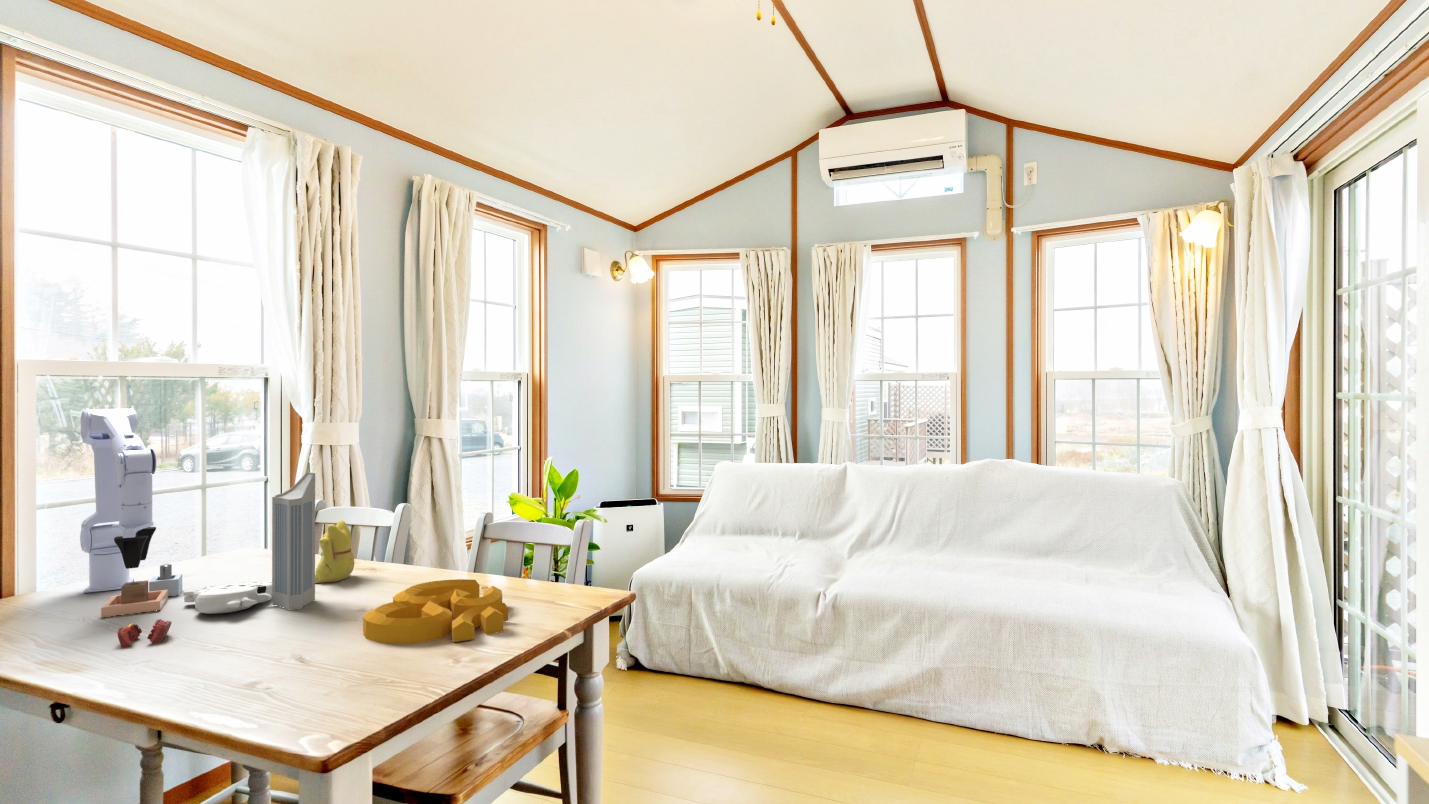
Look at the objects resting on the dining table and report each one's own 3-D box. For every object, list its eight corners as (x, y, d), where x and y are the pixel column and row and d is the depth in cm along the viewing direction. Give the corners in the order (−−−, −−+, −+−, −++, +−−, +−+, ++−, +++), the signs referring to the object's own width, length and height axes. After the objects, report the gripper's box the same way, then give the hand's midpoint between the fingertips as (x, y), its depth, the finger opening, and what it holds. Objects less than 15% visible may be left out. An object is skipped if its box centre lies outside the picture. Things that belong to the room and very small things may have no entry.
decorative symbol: (425, 576, 167) (541, 584, 162) (425, 597, 167) (541, 606, 162) (337, 614, 138) (474, 626, 133) (336, 640, 138) (474, 653, 133)
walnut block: (125, 604, 156) (125, 582, 156) (148, 602, 158) (148, 580, 158) (121, 609, 153) (121, 586, 152) (144, 606, 155) (144, 584, 154)
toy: (147, 621, 146) (245, 615, 148) (148, 598, 147) (246, 593, 148) (216, 603, 168) (301, 598, 169) (216, 583, 169) (301, 578, 170)
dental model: (124, 618, 136) (174, 614, 140) (124, 639, 137) (174, 634, 140) (113, 628, 131) (165, 623, 135) (113, 650, 132) (165, 645, 135)
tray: (112, 605, 157) (112, 595, 157) (168, 598, 162) (168, 589, 162) (101, 617, 148) (101, 607, 148) (160, 610, 154) (160, 600, 154)
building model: (321, 599, 163) (322, 472, 162) (296, 610, 155) (296, 476, 154) (289, 597, 164) (289, 471, 164) (262, 608, 156) (262, 475, 155)
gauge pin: (160, 593, 166) (160, 564, 166) (172, 592, 167) (172, 563, 167) (159, 596, 164) (159, 566, 164) (170, 595, 165) (170, 565, 165)
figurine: (327, 574, 185) (327, 518, 184) (360, 574, 185) (361, 518, 185) (304, 586, 174) (304, 526, 173) (340, 586, 174) (340, 527, 174)
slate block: (153, 592, 167) (153, 576, 166) (182, 589, 169) (182, 573, 169) (149, 599, 162) (149, 582, 162) (178, 595, 165) (178, 579, 164)
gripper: (120, 500, 159) (120, 558, 159) (104, 509, 147) (104, 573, 147) (159, 497, 163) (159, 555, 163) (146, 507, 150) (146, 569, 150)
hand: (136, 563), depth 155 cm, fingers open, 7 cm apart
